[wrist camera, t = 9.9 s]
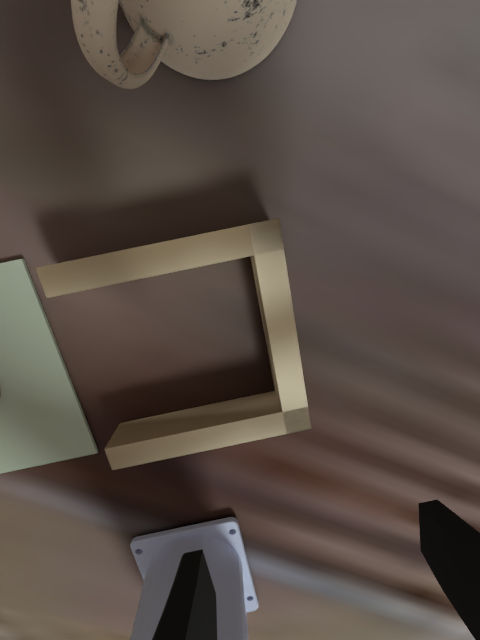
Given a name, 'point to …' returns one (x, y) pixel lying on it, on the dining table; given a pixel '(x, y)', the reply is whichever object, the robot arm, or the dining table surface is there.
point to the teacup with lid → (179, 36)
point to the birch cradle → (279, 328)
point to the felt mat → (34, 382)
